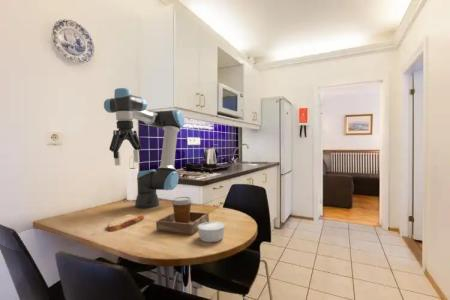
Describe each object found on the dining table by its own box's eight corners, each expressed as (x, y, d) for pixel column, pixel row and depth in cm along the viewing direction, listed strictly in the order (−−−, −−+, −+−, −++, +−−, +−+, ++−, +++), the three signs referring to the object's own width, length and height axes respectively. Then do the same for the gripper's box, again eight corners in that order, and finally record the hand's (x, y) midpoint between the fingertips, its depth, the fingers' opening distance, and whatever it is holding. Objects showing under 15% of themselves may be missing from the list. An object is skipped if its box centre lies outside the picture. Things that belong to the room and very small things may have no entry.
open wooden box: (176, 219, 125) (176, 210, 125) (208, 222, 119) (208, 213, 119) (156, 231, 108) (156, 221, 108) (192, 234, 102) (192, 224, 102)
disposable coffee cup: (168, 226, 112) (168, 200, 112) (177, 220, 121) (176, 196, 121) (188, 227, 110) (187, 201, 110) (195, 220, 119) (194, 196, 119)
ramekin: (210, 231, 106) (210, 219, 106) (230, 237, 99) (230, 224, 99) (192, 239, 98) (191, 226, 98) (212, 246, 91) (212, 232, 90)
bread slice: (107, 233, 108) (106, 225, 108) (106, 222, 124) (105, 215, 124) (148, 226, 116) (148, 218, 116) (142, 217, 132) (142, 210, 132)
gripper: (134, 122, 131) (137, 161, 132) (98, 119, 107) (102, 166, 108) (146, 121, 129) (149, 161, 130) (112, 118, 105) (115, 166, 106)
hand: (127, 163), depth 119 cm, fingers open, 13 cm apart
